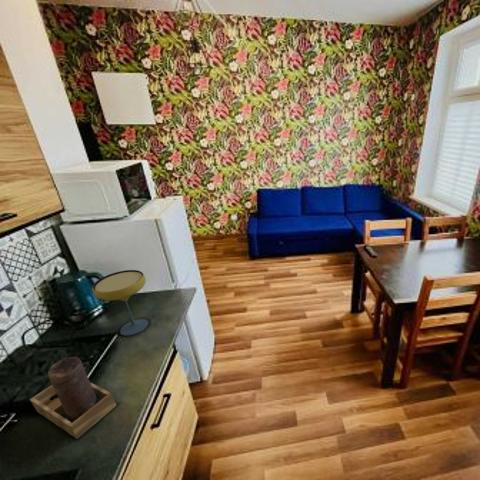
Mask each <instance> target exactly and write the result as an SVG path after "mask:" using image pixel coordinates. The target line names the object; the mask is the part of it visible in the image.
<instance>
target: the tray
mask: <svg viewBox="0 0 480 480" xmlns="http://www.w3.org/2000/svg"><path fill="white" fill-rule="evenodd" d="M90 384H91V386H92V388H93V391H94V393H95V395H96V398H97V400H98V403H97V404H95V405H94V406H93V407H92V408H90V409H89V410H88V411H87V412H85V413H84V414H83V415H82V416H80V417H79V418H78V419H77V420H75V421H74V422H73V423H71V422H70V421H69V419H68V417H67V415H66V413H65V411H64V409H63V406H62V404H61V402H60V400H59V398H54V399H53V400H50V398H51V397H52V396H54V395H55V394H56V392H55V389H54V387H53V385H52V384H51V385H50V386H48V387H46V388H44V389H43V390H41V391H40V392H39V393H37V394H36V395H34V396H32V397H31V398H29V401H30V402H31V404H32V406H33V407H34V409H35V411H36V412H37V413H39V414H40V415H41V416H43V417H44V418H46V419H47V420H49V421H50V422H51V423H53V424H54V425H56V426H57V427H59V428H60V429H62V430H63V431H65V432H66V433H68V434H69V435H70V436H72V437H73V438H75V439H76V440H78V439H79V438H81V437H82V436H83V435H84V434H85V433H87V431H89V430H90V428H92V427H94V425H96V424H97V423H98V422H99V421H100V420H102V419H103V418H104V417H105V416H106V415H107V414H108V413H110V412H111V411H112V410H113V409H114V408H116V407H117V403H116V401H115V399H114V396H113V394H112V392H109V391H108V390H105V389H104V388H102V387H100V386H98V385H97V384H94V383H93V382H91V381H90Z"/></svg>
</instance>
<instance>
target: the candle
mask: <svg viewBox="0 0 480 480" xmlns="http://www.w3.org/2000/svg"><path fill="white" fill-rule="evenodd" d="M47 374H48V379H49V381H50V383H51V385H53V387H54V389H55V392H56V394H57V395H58V398H59V400H60V402H61V404H62V406H63V409H64V411H65V413H66V415H67V417H68V419H69V421H70V422H71V423H73V422H74V421H75V420H77V419H78V418H79V417H80V416H82V415H83V414H84V413H85V412H87V411H88V410H89V409H90V408H92V407H93V406H94V405H95V404H97V403H98V400H97V398H96V395H95V393H94V391H93V388H92V386H91V384H90V382H91V381H90V378H89V377H88V375H87V372H86V369H85V367H84V365H83V363H82V360H81V359H80V357H78V356H70V357H69V356H68V357H64V358H63V359H61V360H59V361H57V362H55V363H54V364H53V365H51V367H50V369H49V370H48V373H47Z"/></svg>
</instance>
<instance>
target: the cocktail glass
mask: <svg viewBox="0 0 480 480" xmlns="http://www.w3.org/2000/svg"><path fill="white" fill-rule="evenodd" d="M145 285H146V276H145V274H144V272H143V271H140V270H137V269H128V270H127V269H126V270H121V271H116V272H112V273H110V274H107V275H105V276H103V277H101V278H99V279H97V280H96V281H95V282H94V283H93V285H92V289H91V290H92V293H93V295H94V297H96V298H97V299H99V300H102V301H119V300H120V301H122V302H124V303H125V305H126V309H127V311H128V315H129V319H130V321H129V322H127V323H125V324H123V326H122V327H121V328H120V330H119V333H120V335H122V336H124V337H125V336H126V337H129V336H134V335H137V334H139V333H141V332H143V331H144V330H145V329H147V328H148V326H149V320H148V319H144V318H138V319H134V318H133V315H132V312H131V309H130V307H129V304H128V300H129V299H130V297H132V296H134V295H135V294H137V293H138V292H139V291H141V290H142V289H143V288H144V287H145Z"/></svg>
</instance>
